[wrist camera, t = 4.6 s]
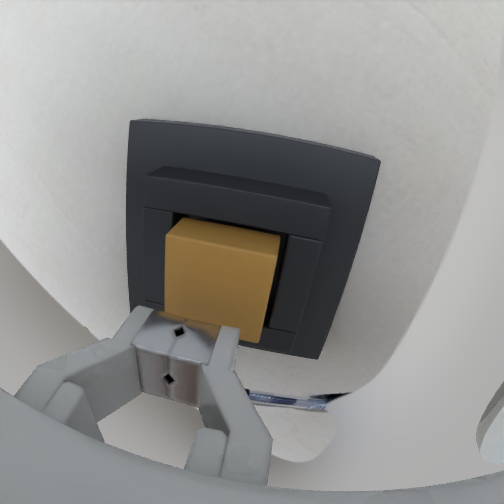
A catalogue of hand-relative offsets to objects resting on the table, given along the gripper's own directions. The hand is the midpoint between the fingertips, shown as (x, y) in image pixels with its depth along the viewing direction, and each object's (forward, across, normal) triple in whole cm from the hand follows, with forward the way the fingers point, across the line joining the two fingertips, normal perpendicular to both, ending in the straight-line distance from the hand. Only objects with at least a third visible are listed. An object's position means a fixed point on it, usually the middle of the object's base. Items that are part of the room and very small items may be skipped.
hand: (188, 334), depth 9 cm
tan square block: (+4, 0, 0) cm, 4 cm away
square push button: (+6, 0, 0) cm, 6 cm away
